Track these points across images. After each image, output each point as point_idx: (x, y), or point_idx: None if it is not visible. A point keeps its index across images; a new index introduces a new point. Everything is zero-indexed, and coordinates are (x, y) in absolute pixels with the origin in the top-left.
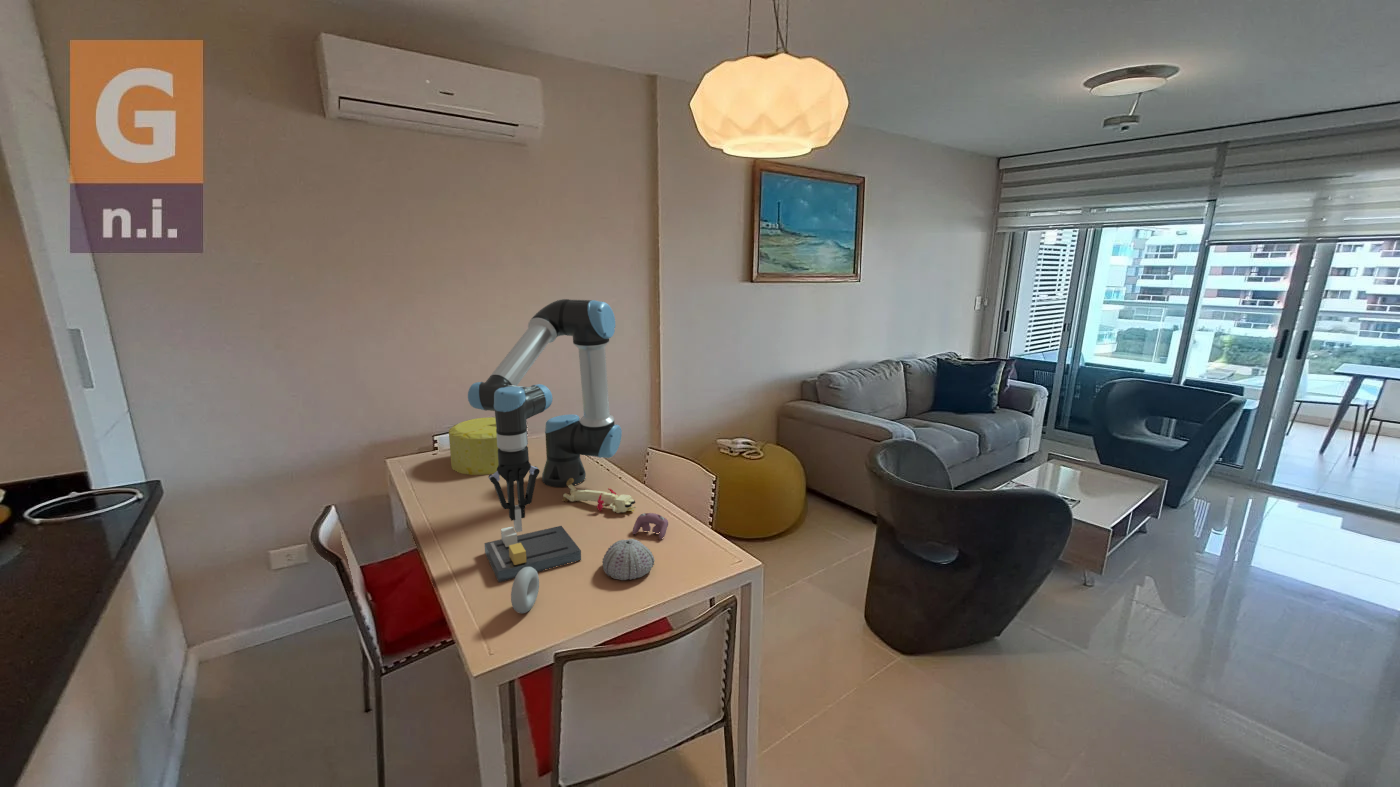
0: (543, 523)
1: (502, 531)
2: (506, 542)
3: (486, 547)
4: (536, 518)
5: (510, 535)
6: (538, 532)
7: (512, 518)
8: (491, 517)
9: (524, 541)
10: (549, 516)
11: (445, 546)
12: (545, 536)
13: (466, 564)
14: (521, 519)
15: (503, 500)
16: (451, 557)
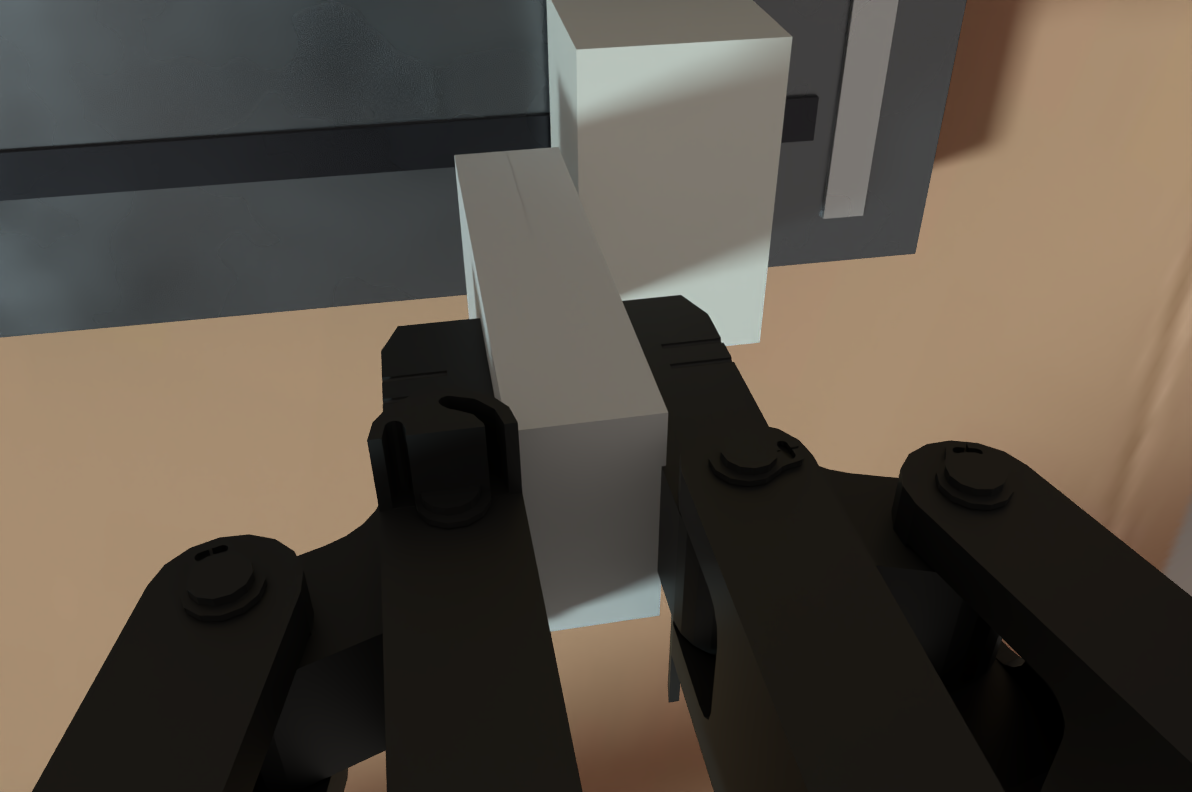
0: (111, 598)
1: (767, 250)
2: (741, 4)
3: (940, 126)
4: None
5: (697, 45)
6: (166, 272)
7: (669, 323)
8: (596, 780)
9: (415, 76)
10: (36, 706)
11: (1094, 455)
12: (46, 98)
13: (1119, 18)
14: (476, 270)
15: (1165, 657)
16: (1155, 241)
